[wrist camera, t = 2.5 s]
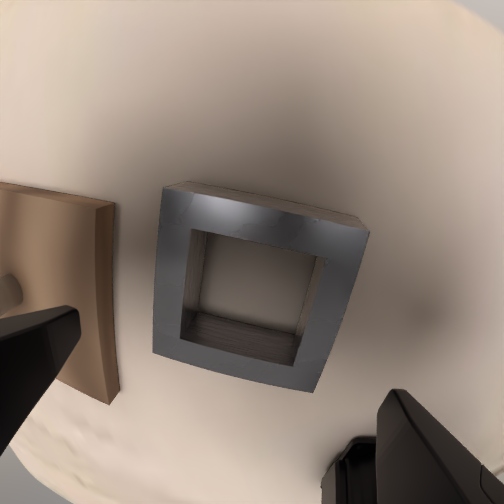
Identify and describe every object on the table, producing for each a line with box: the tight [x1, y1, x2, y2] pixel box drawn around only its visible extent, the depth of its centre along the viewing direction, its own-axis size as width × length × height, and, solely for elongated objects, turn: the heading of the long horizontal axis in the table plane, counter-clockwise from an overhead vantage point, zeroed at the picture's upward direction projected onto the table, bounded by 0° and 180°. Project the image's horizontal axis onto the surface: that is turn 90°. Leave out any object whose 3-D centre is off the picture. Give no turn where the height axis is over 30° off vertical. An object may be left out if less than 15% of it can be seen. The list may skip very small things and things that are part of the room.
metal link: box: [153, 181, 370, 393], centre depth 12 cm, size 7×7×2 cm
